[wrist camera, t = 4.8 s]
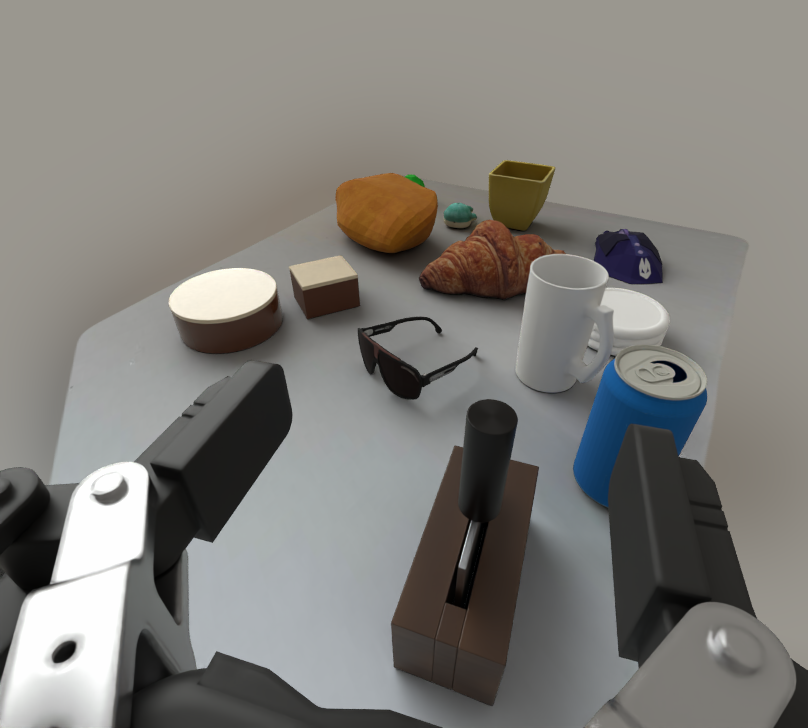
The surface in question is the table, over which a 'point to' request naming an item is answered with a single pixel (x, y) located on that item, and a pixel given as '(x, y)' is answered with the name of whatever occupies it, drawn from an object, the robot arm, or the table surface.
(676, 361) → the beverage can
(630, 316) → the coaster
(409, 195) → the bread
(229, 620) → the table surface
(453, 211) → the whale figurine
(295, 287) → the cake slice
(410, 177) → the polyhedron
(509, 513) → the knife block
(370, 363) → the sunglasses
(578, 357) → the mug
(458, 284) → the pastry
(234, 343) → the cake
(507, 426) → the knife
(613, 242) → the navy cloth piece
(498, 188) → the flower pot
